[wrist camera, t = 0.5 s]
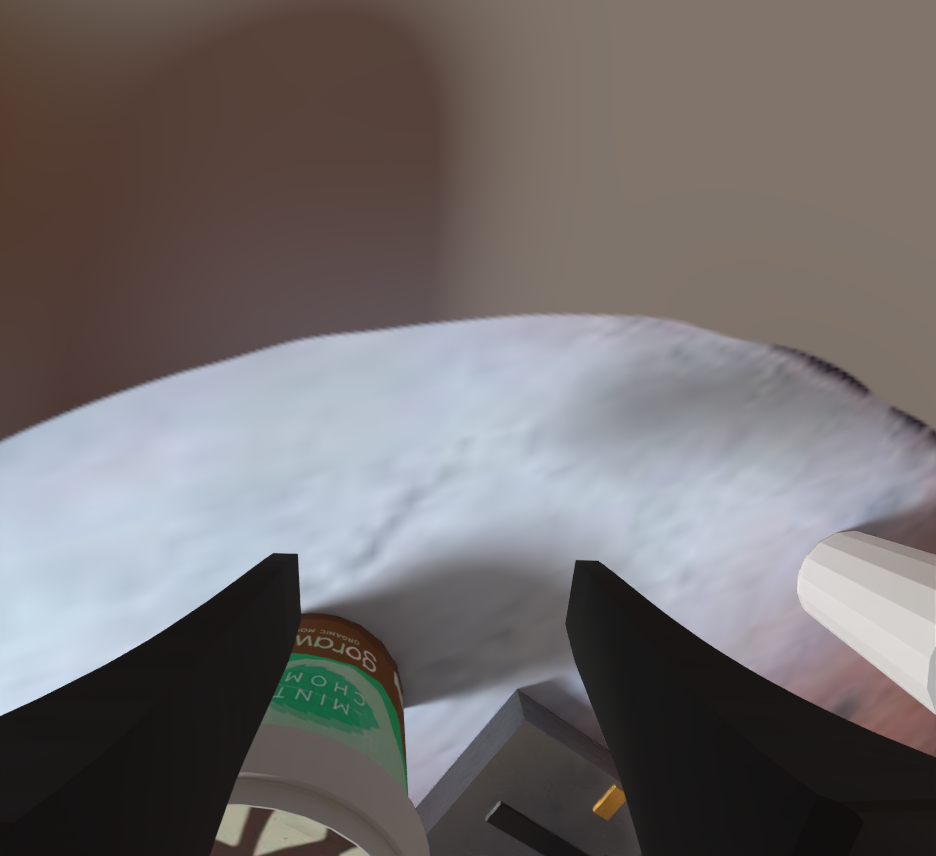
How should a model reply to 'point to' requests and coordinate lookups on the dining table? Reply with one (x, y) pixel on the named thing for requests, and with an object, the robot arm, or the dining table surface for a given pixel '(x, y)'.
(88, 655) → the dining table surface
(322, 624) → the food container
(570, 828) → the fader console
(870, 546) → the white cylinder
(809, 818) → the robot arm
